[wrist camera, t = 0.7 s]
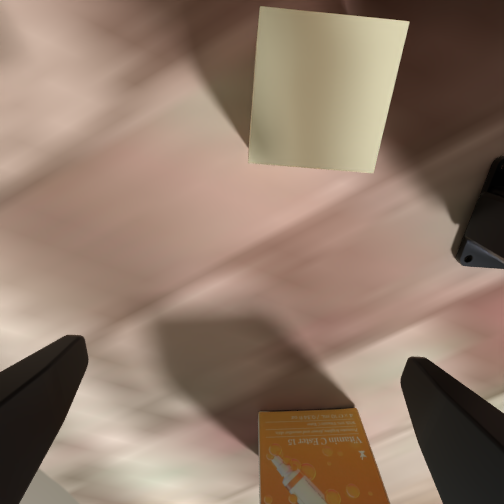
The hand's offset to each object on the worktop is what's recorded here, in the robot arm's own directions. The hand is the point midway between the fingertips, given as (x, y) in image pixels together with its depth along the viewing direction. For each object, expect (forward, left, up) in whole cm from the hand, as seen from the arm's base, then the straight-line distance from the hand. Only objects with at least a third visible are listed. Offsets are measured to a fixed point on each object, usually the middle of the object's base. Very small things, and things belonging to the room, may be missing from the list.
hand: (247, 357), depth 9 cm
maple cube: (-2, -7, -11) cm, 13 cm away
